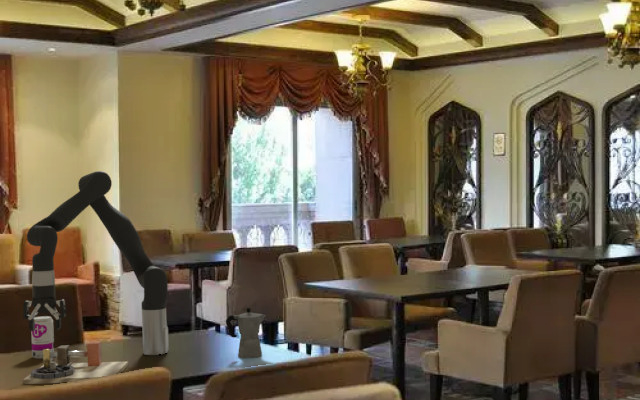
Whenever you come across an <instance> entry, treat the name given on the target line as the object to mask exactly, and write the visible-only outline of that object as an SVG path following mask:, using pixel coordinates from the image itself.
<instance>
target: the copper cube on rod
mask: <svg viewBox="0 0 640 400" xmlns="http://www.w3.org/2000/svg"><path fill="white" fill-rule="evenodd" d="M102 354H103V353H102V341H101V340H98V341H97V340H96V341H95V340H94V341H92V340H91V341H89V342H87V343H86V350H70V351H67V358H70V359H71V358H87V363H88V366H99V365H100V364H101V363H102V362H103V358H102ZM55 359H57V351H54V352H50V362H56V360H55Z"/></svg>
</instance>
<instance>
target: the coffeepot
mask: <svg viewBox="0 0 640 400" xmlns="http://www.w3.org/2000/svg"><path fill="white" fill-rule="evenodd" d="M251 310H252V309H251V307H247V308H246V312H244V313H240V314H233V315H232V314H231V315H228V317H227V318H226V320H225V324H226V326H227V329H228V332H229V334H230V336H231V338H237V336H238V334H234V329H233V325H232V323H231V322H232V321H237V327H238V332H239V334H240V339H239V344H238V345H239V346H238V352H237V353H238V354H237V357H239V358H242V359H252V358H253V359H254V358H258V357H261V356H262V355H263V352H262V347H261V341H260V338H259V334H260V327H261V325H262V323H263V321H264V319H265V317H267V315H266V314H264V313H256V312H251Z"/></svg>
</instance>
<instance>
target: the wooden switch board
mask: <svg viewBox="0 0 640 400" xmlns="http://www.w3.org/2000/svg"><path fill="white" fill-rule="evenodd" d="M67 351H71V350H70V345H69V344H67V345H66V344H65V345H59V346H58V347H57V348H56V352H57V358H56V359H57V360H56V361H57V362H56V361H55V362H50V371H56V365H68V366H73V367H75V373H74V374H72V375H69V376H66V377H61V378H54V379H37V378H33V377H31V373H30V374H29V375H27V376H26V377H24V378H22V385H33V384H37V385H39V384H40V385H41V384H64V383H63V382H69V381H76V380H83V379H89V378H97V377H102V376H108V375H113V374H118V373H121V372H122V373H123V371H125V370H126V369H127V368H128V367H129V361H102V363H101V364H100V365H99V366H88V362H73V361H72V362H71V357H70V358H67ZM127 366H128V367H127ZM40 367H44V364H43V365H42V366H40ZM126 367H127V368H126ZM125 368H126V369H125ZM122 373H121V374H122Z"/></svg>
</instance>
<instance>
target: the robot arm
mask: <svg viewBox="0 0 640 400" xmlns="http://www.w3.org/2000/svg"><path fill="white" fill-rule="evenodd" d="M77 185H78V189H79V191H78V192H77V193H75V194H73V195H72V196H71V197H69V198H68V199H67V200H65V201H64V202H63V203H61V204H60V205H58V206H57V207H56V208H55V209H54V210H53V211H52V212H51V213H50V214H49V215H48V216H46V217H45V218H44V217H43V218H42V219H41V220H40V221H38V222H36V223H34V224H33V225H32V226H31V227H29V229H28V231H27V233H26V240H27V243H28V244H29V245H31V246H34V247H40V248H39V252H38V253H35V254H33V255H32V258H31V259H32V262H31V264H32V265H31V266H32V274H31V275H32V276H31V277H32V278H31V287H32V300H24V301H23V306H22V308H23V310H22V317H23V318H22V319H25V320H28V328H29V330H30V332H31V331H34V330H35V319H34V317H37V315H38V313H39V314H44V313H45V314H49V313H50V314H51V315H52V316H53V317H54V318H55V322H54V323H55V331H59V330H60V329H61V328H62V318H65V317H66V316H67V309H66V300H65V299H64V298H63V299H60V300H57V299H56V277H55V275H56V274H55V266H54V265H55V264H54V257H55V253H56V250H57V249H56V248H57V245H58V240H59V239H58V233H59V232H62V231H64V230H65V229H66V228H67V227H68V226H69V225H70V224H72V222H73V221H74V220H75V219H76V218H77V217H78V216H79V215H80V214H81V213H82V212H83V211H85V209H87V208H88V207H91V209H92V210H93V211H94V212H95V214H96V215H97V217H98V218H99V220H100V222H101V223H102V225H103V226H104V227H105V229H106V230H107V232H108V234H109V236H110V237H111V239H112V241H113V242H114V243H115V245H116V247H117V248H118V250H119V251H120V253H121V254H122V255H123V257H124V258H125V260H126V261H127V262H128V263H129V265H130V267H131V269H132V271H133V273H134V275H135V278H136V279H137V281H138V283H139V285H140V287H142V288H143V300H142V301H141V323H142V324H141V326H142V353H143V355H146V356H159V354H161V355H166V354H165V353H167V354H168V352H169V351H168V350H169V349H170V348H169V327H168V323H167V302H168V293H169V292H168V276H167V274H166V272H165V271H164V270H163V269H162V268H160V267H158V266H156V265H154V263H153V262H152V261H151V260H150V258H149V257H148V255H147V253H146V252H145V250H144V246H143V242H142V240H141V237H140V234H139V232H138V230H137V229H136V228H135V226H134V224H133V223H132V221H131V220H130V218H128V216H126V215H125V214H124V213H123V212H121V211H120V210H119V209H117V208H115V207H114V206H113V205H112V204H111V202H109V200H108V199H107V197H106V196H105V195H107V194H108V193H109V192H110V190H111V188H112V178H111V177H110V175H109V174H108V173H107V172H105V171H102V170H99V171H98V170H97V171H94V172H91V173H88V174H85V175H84V176H81V177H80V178H79V179H78V184H77ZM31 305H32V307H33V308H34V309H33V310H32V312H31V314H30V307H31ZM56 305H57V306H58V307H59V309H60V310H59V311H60V313H59V312H58V310H57V308H56Z"/></svg>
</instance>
